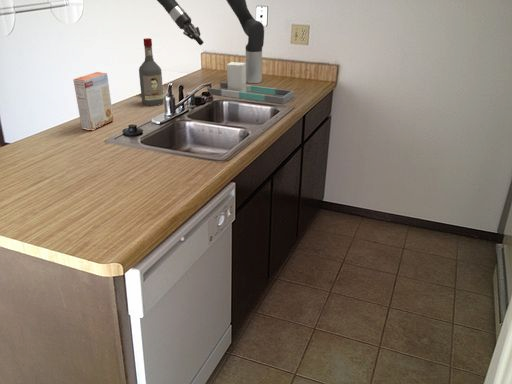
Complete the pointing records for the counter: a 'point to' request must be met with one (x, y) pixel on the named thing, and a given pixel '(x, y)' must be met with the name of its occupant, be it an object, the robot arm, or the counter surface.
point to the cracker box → (93, 100)
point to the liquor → (150, 78)
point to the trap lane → (279, 94)
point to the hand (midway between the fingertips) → (201, 43)
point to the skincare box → (236, 76)
